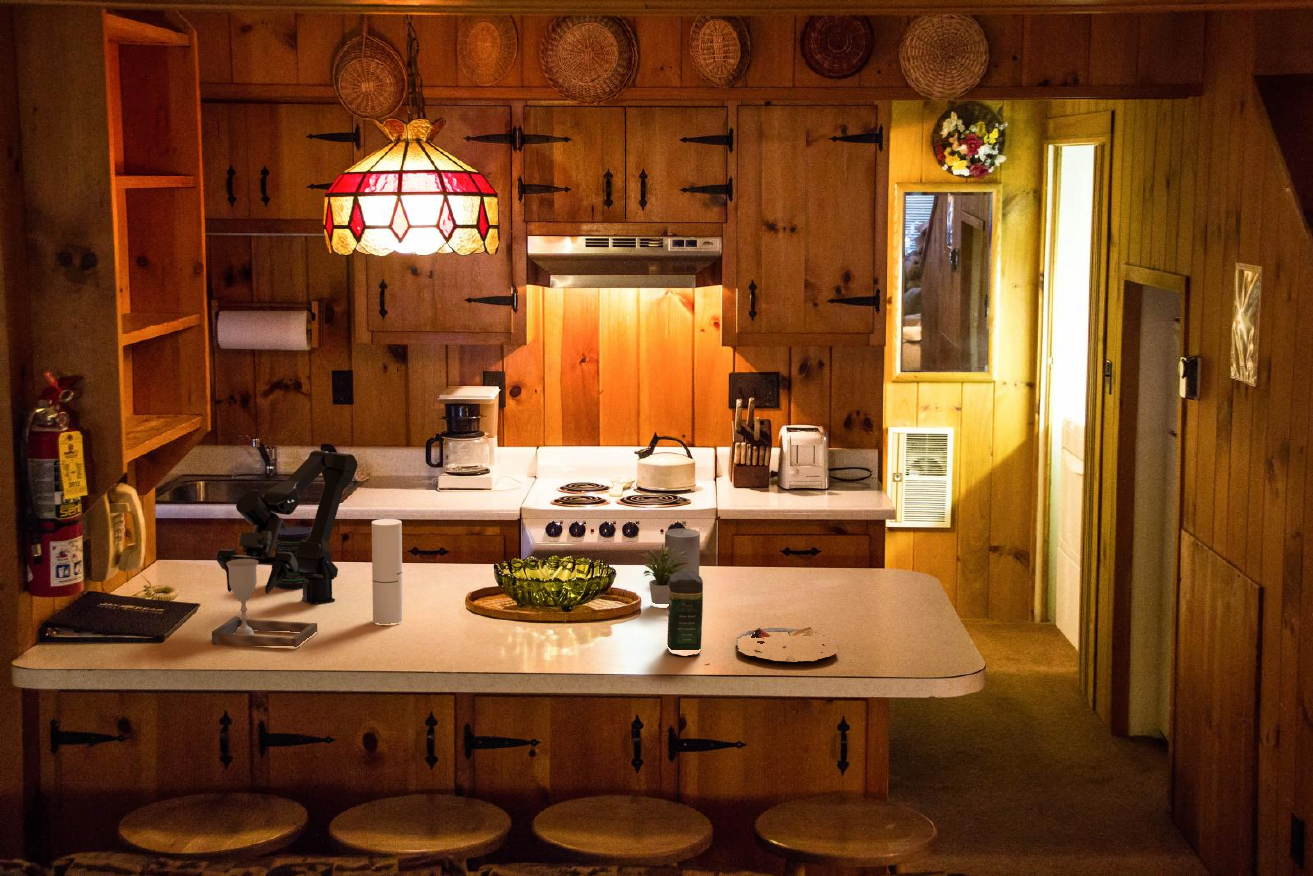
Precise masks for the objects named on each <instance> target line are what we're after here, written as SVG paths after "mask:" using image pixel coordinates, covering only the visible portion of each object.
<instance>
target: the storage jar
mask: <svg viewBox="0 0 1313 876" xmlns="http://www.w3.org/2000/svg"><path fill="white" fill-rule="evenodd" d="M311 531H312V528H310V527H308V526H300V525H298V526H297V525H295V526H294V525H292V526H285V529H279V532H278V535H277V539H276V542H275V544H276V545H277V547H276V549H273V552H274V555H275V554H276V553H277V552H291V553H292V554H293V555H294V557H295V555H296V553H297V551H298V546H299V543H300V542H301V541H303V542H305V541H306V540H307V539H308V538H309V537H310V534H311ZM295 559H296V557H295ZM303 583H304V577H299V574H298V570H297V572H296V573H291V574H290V576H286V577H285V578H284V579H282V580H281V581H280V582H279V583H278V584H277V585H276V586H275V587H276V589H280V590H285V591H286V590H289V591H291V590H292V591H294V590H303ZM275 587H274V588H275Z"/></svg>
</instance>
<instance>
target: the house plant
mask: <svg viewBox="0 0 1313 876" xmlns="http://www.w3.org/2000/svg"><path fill="white" fill-rule="evenodd" d="M668 549H669V547H668V546H667V547H666V548H665V547H664V543H662V544H661V548H660V561H659V558H658V557H657V554H656V553H655V552H654V551H653V550H651V549H649V552H651V553H650V554H652V557H653V558H652V557H651V556H650V554H648V553H647V552H645V554H644V553H641V554H640V555H641V556H644V557H645V559H646V560H647V561H648V562H649V563H645V564H643V565H644V566H645V567H646V568H649V570H644V572H643V575H644V577H646V576H652V577H654V579H651V580H650V581H649V582H648V583H649V590H650V598H651V603H652V602H653V603H655V604H669V579H670V577H669V576H671V575H673V574H674V572H675V571H678V570H684V571H686V570H688V569H677V570H675V568H677V567H678V566H681V565H685V564H691V563H689V562H683V563H677V564H674V565H672V564H673V563H674V562H675V561H676V560H677V559H678V558H680V557H679V556H680V555H681V554H682V553H684V552H685V551H683V552H681V553H680V554H678V555H677V556H676V557H675V558H674V559H673V560H672V562H671V563H669V564H667V562H668V560H669V558H670V556H671V554H672V553H673V551H674V550H675V549H676V547H675V548H674V549H673V550H672V551H671V552H670V553H669V551H668ZM682 557H687V556H682ZM678 560H683V559H678ZM678 560H677V561H678ZM667 565H669V566H668V567H666V566H667ZM650 570H651V571H650ZM674 570H675V571H674ZM673 571H674V572H673Z"/></svg>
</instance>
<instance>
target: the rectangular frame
mask: <svg viewBox="0 0 1313 876" xmlns="http://www.w3.org/2000/svg"><path fill="white" fill-rule="evenodd" d="M240 617H241V616H238V615H236V616H234V617H232V618H231V619H229V620H227V621H226V622H224V623H223V624H221V625H219V626H218V627H217V628H215V629H213V630H212V631H211V644H212V645H214V646H215V645H216V646H217V645H218V646H231V647H232V646H234V647H247V646H294V647H297V646H299V645H300V644H301V643H302V642H303V641H305V640H306V639H307V638H309V637H310V636H312V635H313V634H314V633H315V632H317V633H318V623H317V622H303V621H286V620H285V621H284V620H270V619H269V620H267V619H254V618H253V619H252V618H247V619H246V624H247V625H248V626H249V627H251V628H252V630H258V631H257V632H265V631H290V632H300V633H296V635H294V636H293V637H292V636H291V637H289V636H274V635H261V634H260V635H258V634H254V635H245V634H235V632H236V630H237V628H238V627H241V625H242V620H241V618H240Z"/></svg>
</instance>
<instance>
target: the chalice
mask: <svg viewBox="0 0 1313 876" xmlns="http://www.w3.org/2000/svg"><path fill="white" fill-rule="evenodd" d="M226 564H227V566H228V568H229V585H230V587H231V592H232V594H233V595H234V597H235V599H236V601H239V602H240V603H241V604H240V609H239V611H240V612H241V614H240V616H239V617H240V619H241V620H242V625H241V627H238V628H237V630H236V632H235V633H234V634H245V635H255V633H254V632H255V631H253V630H252V628H251V627H249V626H248V625H247V624H246V619H248V615H247V610H248V608H247V606H246V604H247V602H248V601H249V600H250V599H251V598H252V595H253V594H254V591H255V589H256V585H257V583H258V581H257V579H258V577H257V576H258V575H257V566H258V565H257V564H258V561H257V560H254V559H237V560H232V561H228V562H227V563H226Z"/></svg>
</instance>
